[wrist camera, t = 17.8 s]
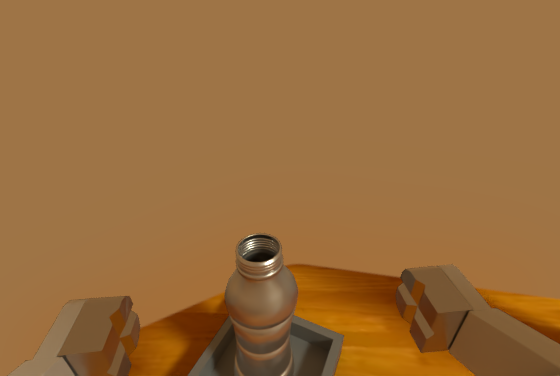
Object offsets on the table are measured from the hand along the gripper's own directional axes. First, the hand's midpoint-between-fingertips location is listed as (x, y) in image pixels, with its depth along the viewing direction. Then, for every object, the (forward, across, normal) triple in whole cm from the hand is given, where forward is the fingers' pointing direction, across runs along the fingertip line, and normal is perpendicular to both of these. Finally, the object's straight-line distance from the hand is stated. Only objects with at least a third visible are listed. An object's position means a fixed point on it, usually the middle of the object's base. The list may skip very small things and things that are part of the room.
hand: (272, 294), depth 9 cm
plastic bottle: (+12, 0, +29) cm, 32 cm away
